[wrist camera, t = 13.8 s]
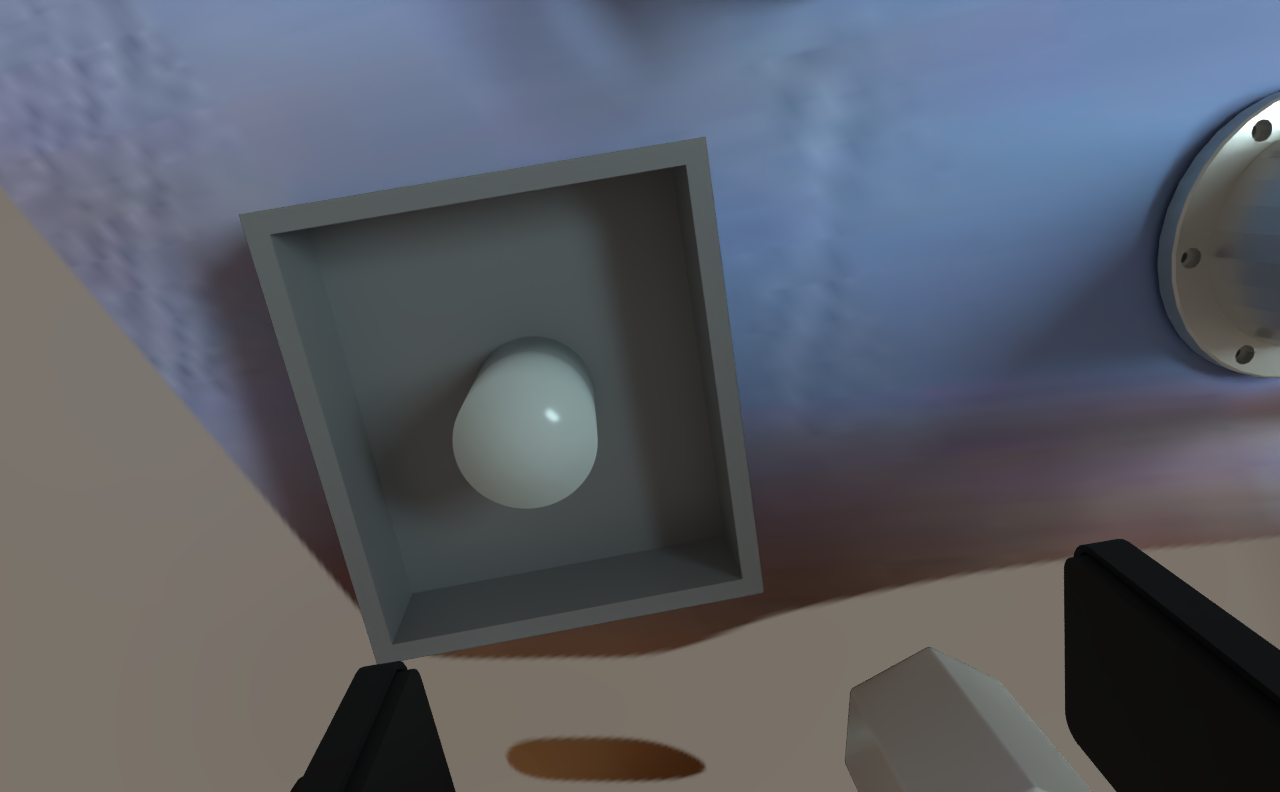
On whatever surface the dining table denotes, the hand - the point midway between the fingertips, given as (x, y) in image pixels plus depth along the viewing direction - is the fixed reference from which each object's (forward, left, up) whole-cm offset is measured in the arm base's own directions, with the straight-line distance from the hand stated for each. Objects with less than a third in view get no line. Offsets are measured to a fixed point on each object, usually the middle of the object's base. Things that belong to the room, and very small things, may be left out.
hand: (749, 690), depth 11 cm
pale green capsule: (+4, +1, -22) cm, 22 cm away
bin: (+5, +1, -23) cm, 23 cm away
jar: (-12, +22, -23) cm, 34 cm away
